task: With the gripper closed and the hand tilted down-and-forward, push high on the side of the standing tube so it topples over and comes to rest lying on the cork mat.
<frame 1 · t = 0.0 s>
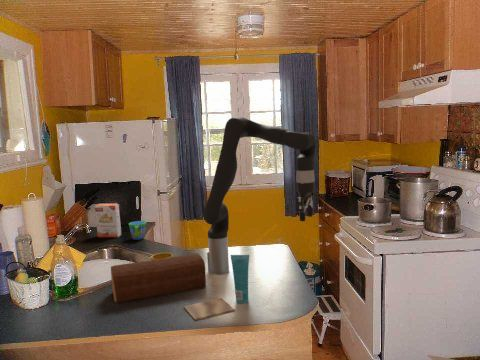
hand: (306, 218, 191), 29 cm above the counter, tool pointing down, fingers open, 8 cm apart
snack cup: (138, 238, 284), on the counter
bread: (159, 290, 198), on the counter
tube: (242, 301, 182), on the counter
cracker box: (109, 236, 293), on the counter
cork mat: (208, 309, 175), on the counter
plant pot: (163, 275, 215), on the counter
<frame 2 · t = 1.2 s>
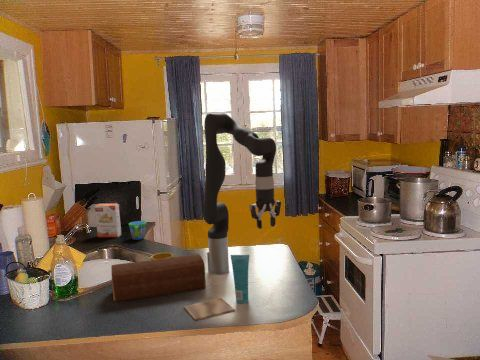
hand: (266, 227, 187), 27 cm above the counter, tool pointing down, fingers open, 5 cm apart
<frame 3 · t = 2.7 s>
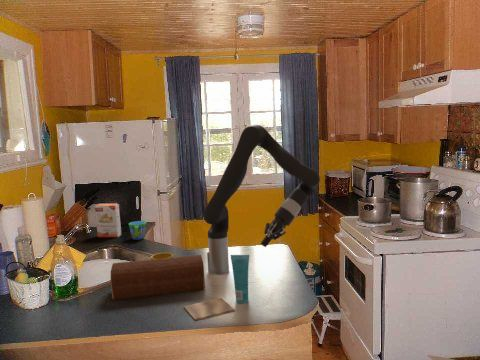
hand: (263, 245, 183), 21 cm above the counter, tool tilted 45°, fingers closed
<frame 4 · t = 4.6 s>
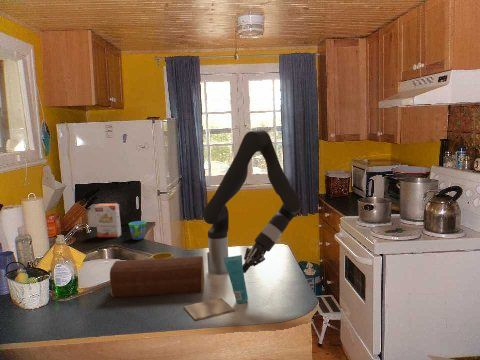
hand: (242, 271, 180), 12 cm above the counter, tool tilted 45°, fingers closed
tube: (242, 300, 182), on the counter, touching gripper
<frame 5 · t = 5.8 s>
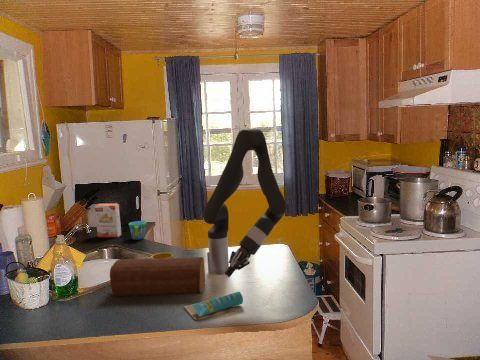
hand: (226, 275, 178), 12 cm above the counter, tool tilted 45°, fingers closed
tube: (240, 296, 178), point 3 cm above the counter, touching cork mat
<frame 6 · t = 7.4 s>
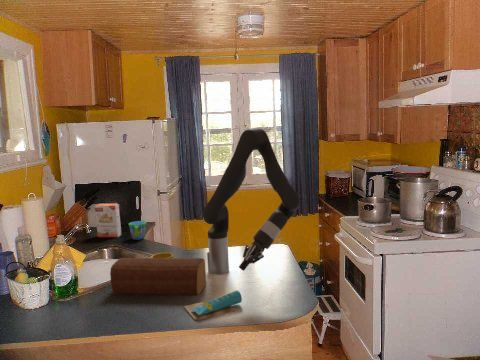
hand: (241, 269, 180), 13 cm above the counter, tool tilted 45°, fingers closed
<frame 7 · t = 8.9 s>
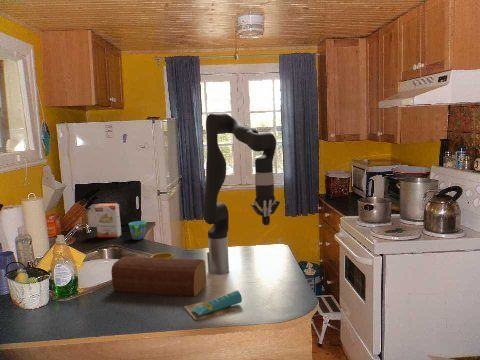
hand: (266, 224, 185), 29 cm above the counter, tool pointing down, fingers closed
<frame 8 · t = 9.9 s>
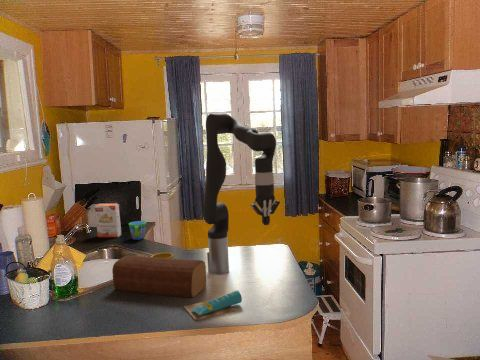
hand: (266, 224, 185), 29 cm above the counter, tool pointing down, fingers closed
at the end: tube tilted 95°; tube inside the target area (6.9 cm from its centre), point 3.5 cm above the counter; tube 12.5 cm from the cork mat (horizontally) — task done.
